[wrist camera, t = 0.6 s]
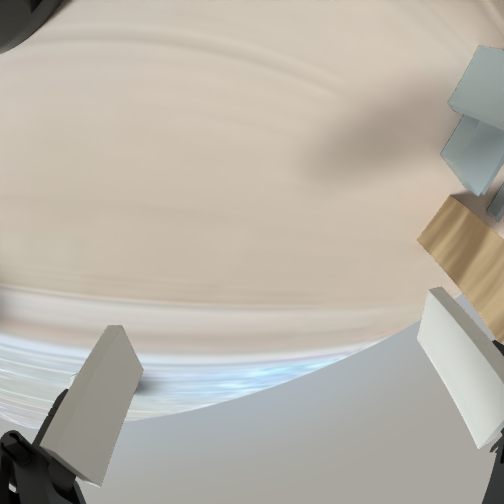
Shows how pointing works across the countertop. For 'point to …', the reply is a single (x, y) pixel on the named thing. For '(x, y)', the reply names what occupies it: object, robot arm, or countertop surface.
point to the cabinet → (479, 126)
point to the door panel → (470, 259)
